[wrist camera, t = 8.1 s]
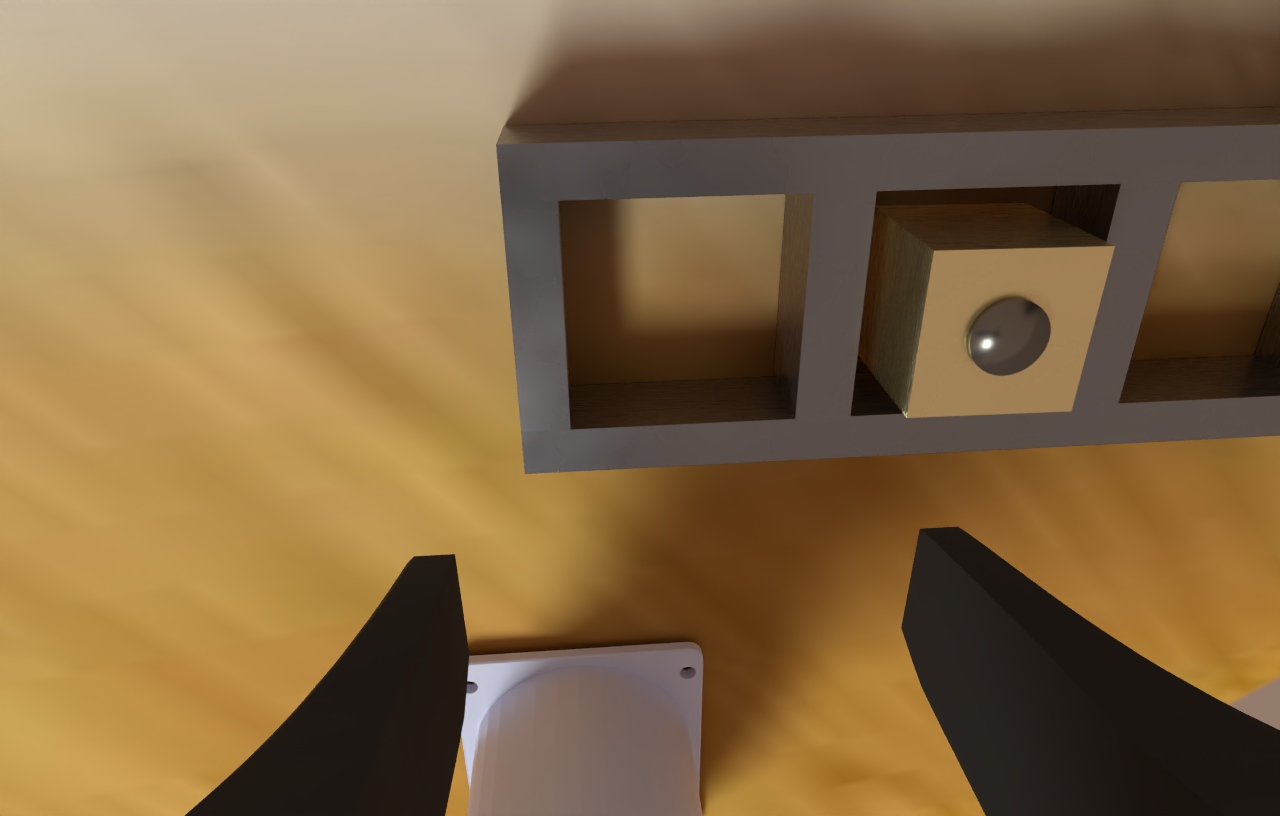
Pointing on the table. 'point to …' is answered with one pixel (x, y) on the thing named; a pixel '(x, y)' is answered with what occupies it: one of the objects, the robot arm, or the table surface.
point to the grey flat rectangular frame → (837, 271)
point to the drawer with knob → (979, 308)
